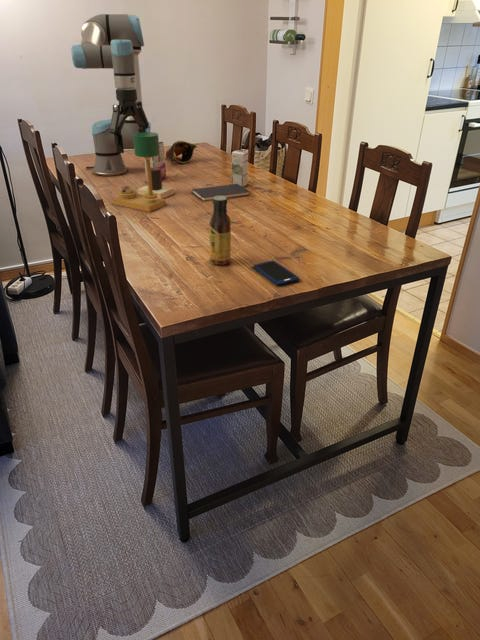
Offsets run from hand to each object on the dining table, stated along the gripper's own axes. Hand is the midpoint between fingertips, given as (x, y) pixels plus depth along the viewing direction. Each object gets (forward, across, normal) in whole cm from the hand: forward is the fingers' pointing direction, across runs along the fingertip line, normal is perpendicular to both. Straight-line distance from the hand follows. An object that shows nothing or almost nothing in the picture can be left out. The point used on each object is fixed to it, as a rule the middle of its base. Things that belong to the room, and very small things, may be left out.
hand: (132, 149), depth 185 cm
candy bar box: (+20, +28, +12) cm, 37 cm away
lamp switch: (+16, -4, +1) cm, 17 cm away
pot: (+19, +64, +22) cm, 70 cm away
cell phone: (+20, -35, -78) cm, 88 cm away
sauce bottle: (+21, -35, -60) cm, 72 cm away
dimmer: (+20, +10, -2) cm, 22 cm away
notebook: (+20, +25, -25) cm, 40 cm away
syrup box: (+20, +41, -26) cm, 52 cm away
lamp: (+16, -4, -10) cm, 19 cm away
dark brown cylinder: (+17, +10, -2) cm, 20 cm away
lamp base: (+20, -4, -4) cm, 21 cm away
